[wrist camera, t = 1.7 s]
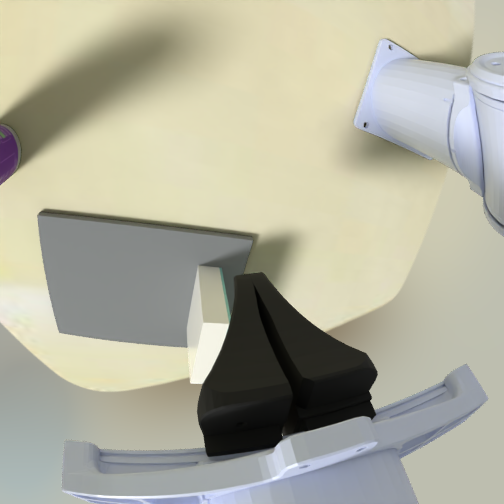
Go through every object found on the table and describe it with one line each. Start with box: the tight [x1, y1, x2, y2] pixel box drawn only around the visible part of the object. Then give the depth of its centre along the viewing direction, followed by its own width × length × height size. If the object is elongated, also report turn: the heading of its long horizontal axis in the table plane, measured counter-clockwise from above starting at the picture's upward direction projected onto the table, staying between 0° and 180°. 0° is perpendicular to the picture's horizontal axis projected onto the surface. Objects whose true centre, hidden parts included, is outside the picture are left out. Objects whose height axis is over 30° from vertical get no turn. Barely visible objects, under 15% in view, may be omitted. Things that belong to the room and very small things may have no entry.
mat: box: [37, 212, 253, 348], centre depth 26 cm, size 18×14×1 cm
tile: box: [187, 265, 231, 384], centre depth 25 cm, size 2×8×6 cm, turn 165°
